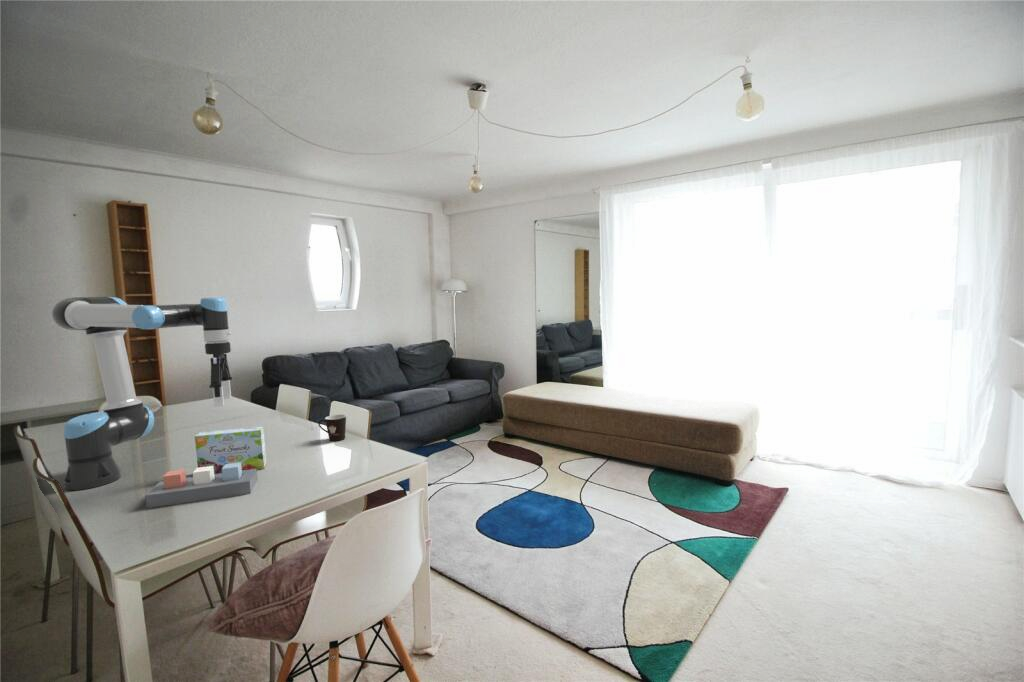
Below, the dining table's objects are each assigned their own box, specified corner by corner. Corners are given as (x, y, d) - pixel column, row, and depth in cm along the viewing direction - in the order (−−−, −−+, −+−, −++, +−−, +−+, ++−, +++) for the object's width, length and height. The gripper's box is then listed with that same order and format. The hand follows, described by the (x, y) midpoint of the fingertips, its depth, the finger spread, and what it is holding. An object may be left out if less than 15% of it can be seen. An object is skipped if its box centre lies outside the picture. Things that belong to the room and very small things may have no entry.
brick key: (164, 490, 149) (162, 476, 149) (169, 484, 154) (168, 471, 153) (181, 487, 151) (180, 474, 150) (186, 482, 155) (184, 469, 155)
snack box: (197, 477, 170) (193, 435, 168) (203, 471, 175) (199, 431, 174) (264, 469, 175) (260, 429, 174) (267, 464, 181) (264, 425, 179)
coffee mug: (351, 438, 211) (350, 415, 210) (335, 443, 204) (333, 420, 203) (334, 434, 217) (333, 412, 216) (318, 439, 210) (316, 417, 209)
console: (146, 508, 145) (145, 495, 145) (161, 493, 156) (160, 481, 156) (250, 493, 154) (249, 481, 154) (257, 479, 165) (256, 468, 165)
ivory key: (194, 486, 152) (192, 472, 152) (198, 480, 156) (197, 467, 156) (210, 483, 153) (209, 470, 153) (214, 478, 158) (213, 465, 157)
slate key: (222, 482, 154) (221, 468, 154) (226, 477, 159) (225, 464, 158) (239, 480, 156) (237, 466, 156) (242, 475, 160) (240, 462, 160)
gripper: (222, 344, 157) (228, 408, 159) (235, 338, 180) (241, 394, 182) (195, 346, 155) (202, 411, 157) (212, 340, 178) (218, 396, 180)
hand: (223, 402), depth 170 cm, fingers open, 13 cm apart
